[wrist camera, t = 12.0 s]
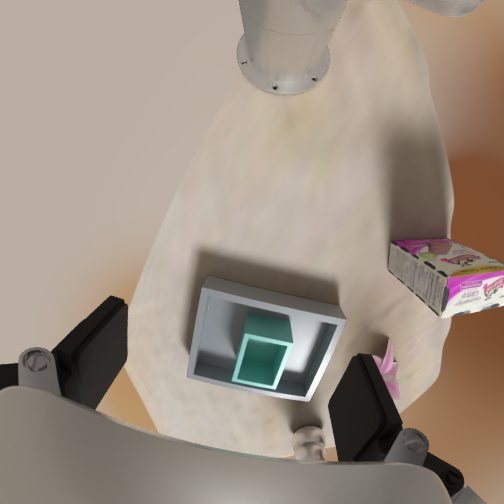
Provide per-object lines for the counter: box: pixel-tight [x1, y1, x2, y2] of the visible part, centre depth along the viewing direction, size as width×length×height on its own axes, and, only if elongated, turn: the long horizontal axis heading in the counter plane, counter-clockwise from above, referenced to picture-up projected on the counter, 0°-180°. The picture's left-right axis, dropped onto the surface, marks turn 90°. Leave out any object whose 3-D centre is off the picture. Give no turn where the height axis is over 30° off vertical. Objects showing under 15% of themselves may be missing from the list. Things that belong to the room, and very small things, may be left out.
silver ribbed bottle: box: [292, 426, 326, 461], centre depth 40 cm, size 6×7×20 cm
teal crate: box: [232, 312, 293, 390], centre depth 40 cm, size 8×6×6 cm
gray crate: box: [187, 275, 347, 402], centre depth 42 cm, size 16×20×4 cm
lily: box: [373, 338, 401, 400], centre depth 41 cm, size 12×12×10 cm
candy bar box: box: [388, 238, 504, 319], centre depth 31 cm, size 11×5×16 cm, turn 94°
